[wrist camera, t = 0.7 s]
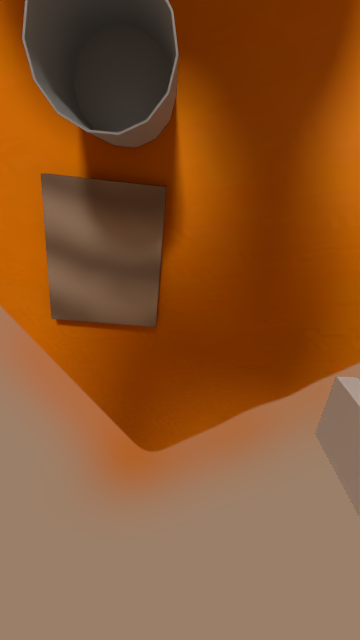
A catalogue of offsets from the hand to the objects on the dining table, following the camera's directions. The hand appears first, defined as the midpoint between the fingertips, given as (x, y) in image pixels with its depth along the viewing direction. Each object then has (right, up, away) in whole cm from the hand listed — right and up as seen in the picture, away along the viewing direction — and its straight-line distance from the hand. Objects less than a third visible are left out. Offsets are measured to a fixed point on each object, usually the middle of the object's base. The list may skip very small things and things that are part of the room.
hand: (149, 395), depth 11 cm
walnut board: (-6, +9, +21) cm, 24 cm away
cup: (-3, +22, +15) cm, 27 cm away
